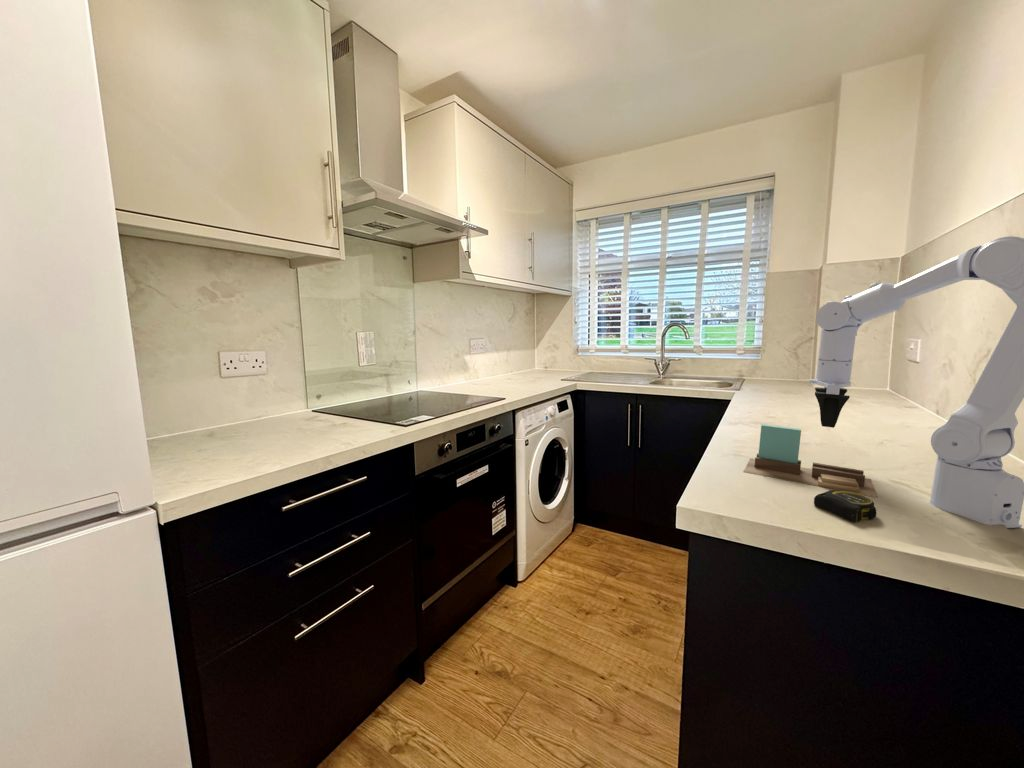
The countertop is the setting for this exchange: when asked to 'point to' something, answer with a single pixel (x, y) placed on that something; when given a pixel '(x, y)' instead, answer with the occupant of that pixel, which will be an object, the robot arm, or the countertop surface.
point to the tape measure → (846, 505)
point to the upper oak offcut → (839, 480)
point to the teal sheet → (779, 443)
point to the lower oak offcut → (838, 486)
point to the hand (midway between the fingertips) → (827, 423)
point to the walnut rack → (807, 473)
